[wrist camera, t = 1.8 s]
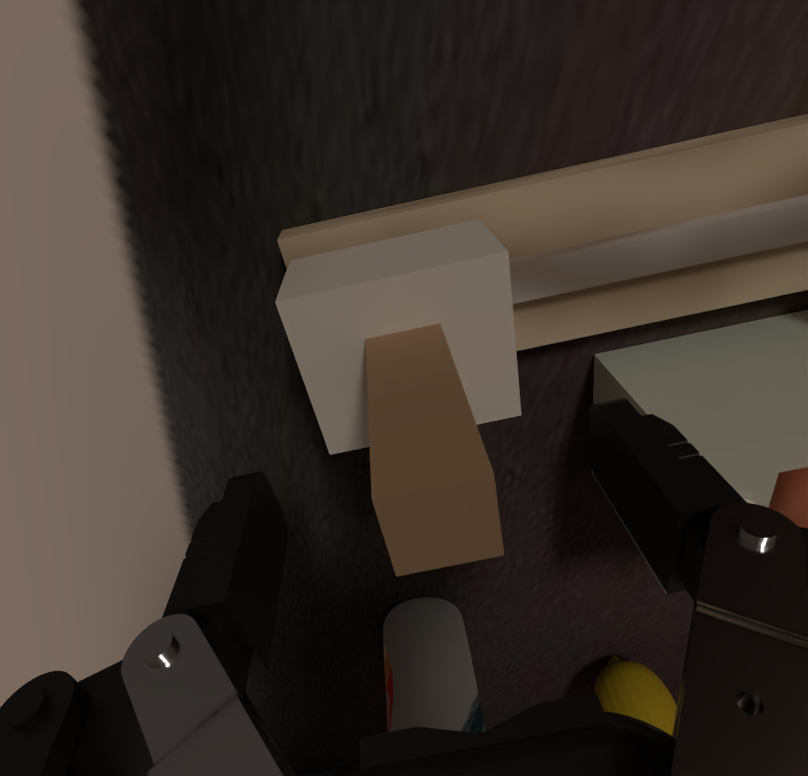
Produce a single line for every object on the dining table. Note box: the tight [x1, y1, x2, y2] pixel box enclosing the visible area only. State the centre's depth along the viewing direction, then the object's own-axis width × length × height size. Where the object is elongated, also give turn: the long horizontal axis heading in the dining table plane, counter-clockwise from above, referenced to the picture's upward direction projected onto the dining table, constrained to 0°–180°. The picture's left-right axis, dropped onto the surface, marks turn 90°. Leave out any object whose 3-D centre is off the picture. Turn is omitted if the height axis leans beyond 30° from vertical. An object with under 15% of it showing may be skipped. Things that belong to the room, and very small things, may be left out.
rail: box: [277, 114, 808, 351], centre depth 20 cm, size 7×25×4 cm, turn 101°
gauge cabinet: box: [592, 310, 808, 593], centre depth 23 cm, size 8×12×8 cm, turn 101°
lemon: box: [594, 657, 677, 736], centre depth 36 cm, size 6×6×8 cm
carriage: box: [275, 219, 521, 577], centre depth 15 cm, size 6×7×11 cm
